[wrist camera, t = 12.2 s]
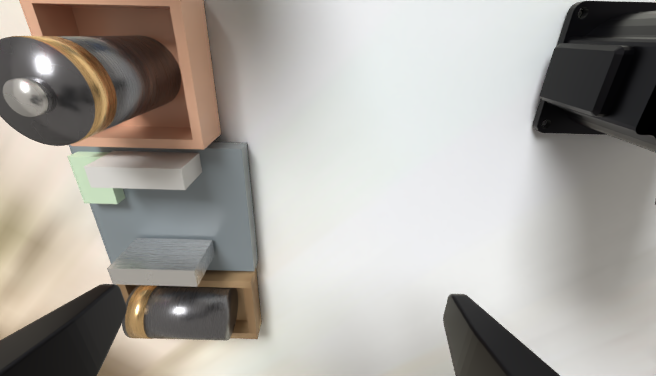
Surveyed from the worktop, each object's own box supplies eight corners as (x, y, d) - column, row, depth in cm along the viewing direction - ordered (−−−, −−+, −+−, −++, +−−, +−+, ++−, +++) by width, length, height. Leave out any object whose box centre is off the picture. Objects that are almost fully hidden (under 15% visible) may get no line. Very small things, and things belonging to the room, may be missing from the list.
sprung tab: (212, 239, 21) (194, 270, 18) (214, 254, 21) (197, 286, 19) (136, 237, 21) (107, 268, 18) (140, 252, 21) (113, 284, 19)
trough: (256, 266, 23) (250, 281, 22) (261, 321, 26) (257, 338, 25) (127, 263, 24) (114, 277, 22) (145, 318, 26) (134, 335, 25)
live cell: (237, 277, 24) (221, 301, 20) (238, 321, 25) (222, 352, 21) (143, 274, 24) (110, 298, 20) (146, 319, 25) (114, 349, 21)
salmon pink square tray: (203, -1, 16) (178, -7, 13) (221, 134, 19) (203, 149, 16) (65, -4, 16) (15, -11, 13) (105, 131, 19) (70, 145, 17)
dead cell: (186, 107, 18) (95, 153, 11) (122, 105, 18) (-8, 150, 11) (174, 36, 16) (59, 37, 9) (104, 33, 16) (-63, 34, 9)
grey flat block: (246, 142, 19) (228, 164, 16) (258, 260, 23) (245, 297, 20) (83, 138, 19) (33, 159, 16) (122, 256, 23) (88, 292, 20)
